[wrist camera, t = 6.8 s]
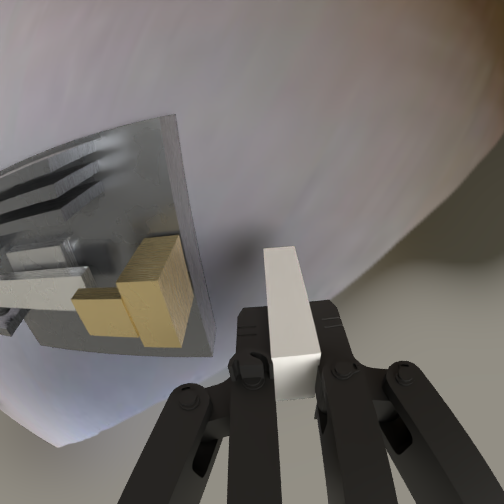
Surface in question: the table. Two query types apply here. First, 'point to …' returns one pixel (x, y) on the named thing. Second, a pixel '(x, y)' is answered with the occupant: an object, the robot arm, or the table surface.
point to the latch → (143, 297)
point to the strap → (43, 288)
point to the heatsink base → (101, 227)
